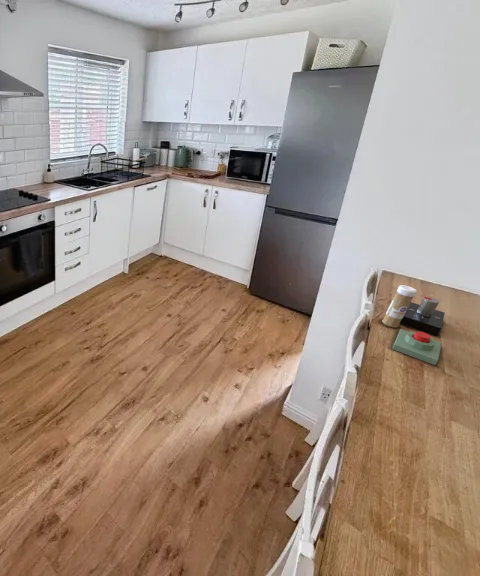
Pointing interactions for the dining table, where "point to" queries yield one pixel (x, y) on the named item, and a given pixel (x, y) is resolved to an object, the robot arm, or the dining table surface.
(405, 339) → the button box
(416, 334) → the button
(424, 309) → the dial
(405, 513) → the dining table surface
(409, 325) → the panel
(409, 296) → the sprinkles bottle
